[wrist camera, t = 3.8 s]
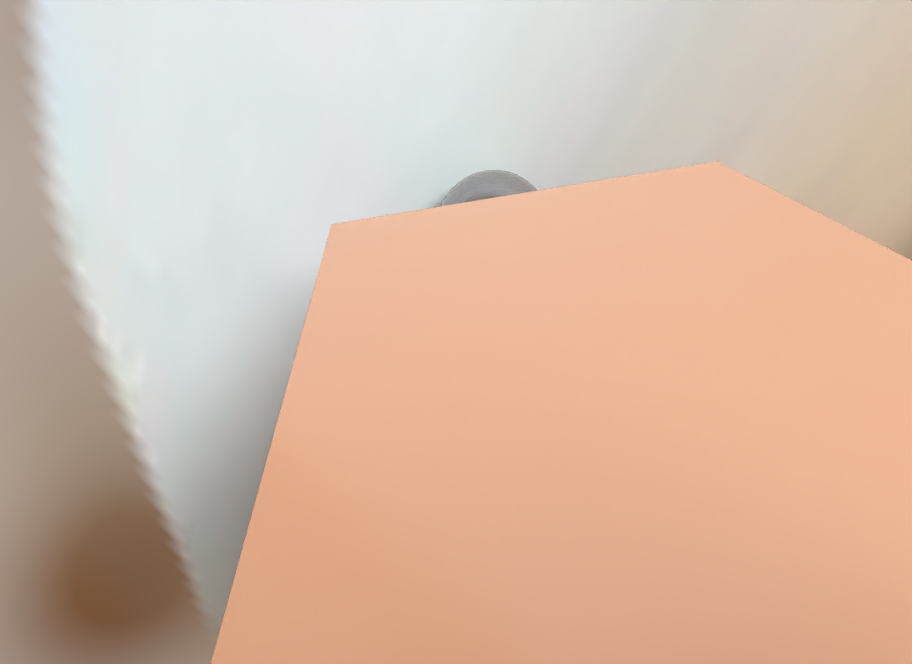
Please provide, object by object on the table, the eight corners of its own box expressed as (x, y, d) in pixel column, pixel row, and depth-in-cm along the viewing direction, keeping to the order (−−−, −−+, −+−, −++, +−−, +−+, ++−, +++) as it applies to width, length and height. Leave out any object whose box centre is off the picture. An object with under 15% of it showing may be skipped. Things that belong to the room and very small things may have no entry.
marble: (538, 249, 16) (565, 295, 14) (441, 265, 16) (449, 314, 14) (533, 148, 15) (562, 180, 12) (425, 166, 15) (431, 201, 12)
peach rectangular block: (670, 533, 13) (896, 973, 7) (426, 574, 13) (453, 1053, 7) (717, 161, 8) (1523, 570, 2) (331, 223, 8) (170, 809, 2)
